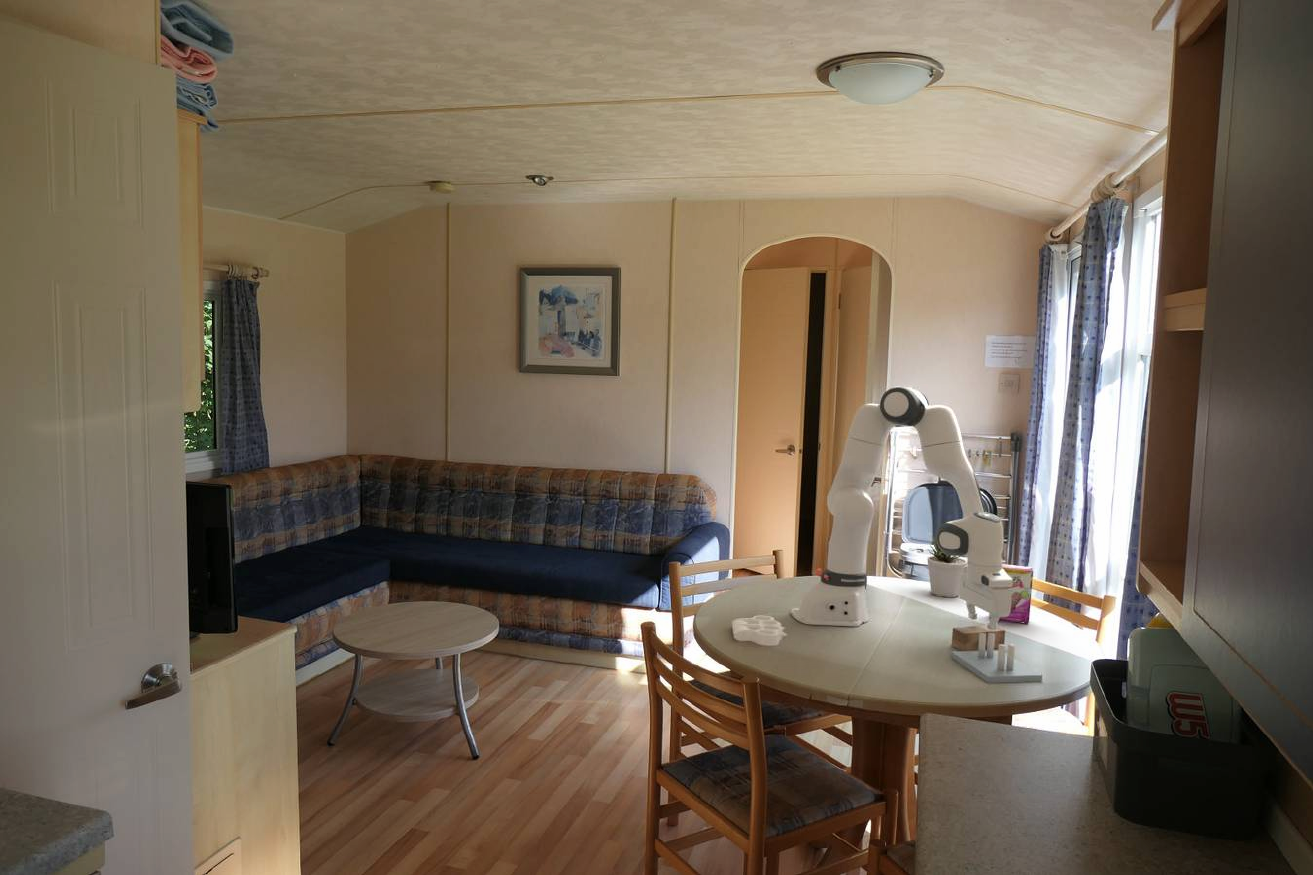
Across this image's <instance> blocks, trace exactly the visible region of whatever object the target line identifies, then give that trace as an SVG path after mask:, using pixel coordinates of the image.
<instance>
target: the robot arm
mask: <svg viewBox="0 0 1313 875" xmlns="http://www.w3.org/2000/svg"><path fill="white" fill-rule="evenodd" d="M901 427H902V428H904V427H906V428H907V427H913V428H914V429H915V430H916V432H917V434H918V436H919V441H920V448H921V454H922V460H923V462H924V465H925V467H926V469H927V471H929V472H930V474H933V476H936V477H937V478H940V479H943V480H944V481H946V482H948V483H949V484H950V485H951V486H953V488H954V489H955V491H956V493H957V495H958V496H957V497H958V500H959V503H960V507H961V511H962V514H963V518H961V519H955V520H951V521H946V522H944V523H942V524H941V525H939V526H938V528H937V530H936V532H935V534H936V535H935V541H936V543H937V545H938V547H939V549H940V550H941V551H942V552H943V553H944V554H946V555H950V557H953V556H956V557H958V556H960V557H961V556H965V557H966V559H967V560H966V561H967V566H966V567H965V568H964V569H963V574H961V576H960V581H959V589H958V595H959V596H958V597H959V599H961V600H963V601H964V602H965V604H966V608H967V612H968V618H969V620H972V621H973V620H977V619H978V612H976V607H977V608H978V609H980V610H983V611H984V612H986V613H988V614H989V613H990V617H991V619H990V617H989V621H987V624H986V625H988V626H987V628H988V629H990V630H996V627H998V626H997V625H998V622H999V621H1000V620H999V619H1000V617H1007V616H1008V615H1009V614H1010V611H1011V597H1012V595H1011V590H1010V588H1009V587H1012V586H1013V580H1012V579H1011V578H1010V577H1009V576H1008V575H1007V573H1006V572H1005V571H1004V569H1002V564H1003V559H1002V553H1003V550H1004V527H1003V522H1002V520H1001V518H1000V517H999V516H998V515H995V514H993V513H990V512H987V508H986V507H985V506H986V505H985V503H984V499H983V495H982V492H981V488H980V486H979V482H978V478H977V475H976V472H975V470H974V468H973V467H972V465H971V464H970V462H969V460H968V458H967V455H966V452H965V449H964V445H963V444H964V443H963V439H962V435H961V430H960V426H959V424H958V420H957V417H956V415H955V412H954V411H953V409H951V408H950V407H948V406H945V405H938V404H937V405H930V402H929V400H928V398H927V396H926V395H925V394H923V392H921V391H919V390H918V389H915V388H913V387H909V386H904V385H903V386H901V385H897V386H894V387H890V388H888V389H887V390H886V391H885V392H884V393H883V394H882V396H881V398H880V402H879V404H876V403H864V404H863V405H861V406H860V407H859V408H858V409H857V412H856V413H855V415H854V418H853V419H852V422H851V425H850V428H849V431H848V435H847V439H846V442H845V445H844V450H843V452H842V453H843V454H842V458H841V459H840V460H841V461H840V464H839V466H838V469H837V472H836V474H835V477H834V479H833V482H832V485H831V487H830V490H829V492H828V494H827V497H826V505H827V510H828V511H829V512H830V513H829V514H831V515H832V516H833V520H832V528H831V534H830V539H829V540H828V552H827V568H825V569H824V570H822V569H821V568H816V570H815V574H816V575H817V576H818V577H820V581H818V582H817V583H816V584H815V585H813V586H811V587H810V588H809V589H807V590H806V591H804V592H803V593H802V594H801V597H800V600H799V604H798V605H799V606H798V607H794V608H792V609H791V612H790V613H791V614H790V615H791V616H792V617H793V618H794V619H795V620H796V621H798V622H800V623H802V624H805V625H811V626H812V625H813V626H814V625H816V626H838V627H842V626H843V627H860V626H861V624H864V623H866V622H868V621H869V620H870V618H869V614H868V610H867V601H866V600H867V598H866V591H867V584H868V572H867V570H866V569H867V553H868V552H867V551H868V542H869V537H870V533H871V527H872V523H873V518H874V517H875V507H874V506H875V505H874V502H873V500H872V498H871V497H870V496H869V492H870V489H871V487H872V486H873V485H872V484H873V482H874V480H875V479H876V477H877V475H878V474H879V471H880V467H881V464H882V459H883V456H884V453H885V449H886V445H887V441H888V437H889V434H890V432H891V431H892V429H894V428H901ZM863 622H864V623H863Z"/></svg>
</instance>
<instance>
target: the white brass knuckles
mask: <svg viewBox="0 0 1313 875" xmlns="http://www.w3.org/2000/svg"><path fill="white" fill-rule="evenodd" d="M731 627H732V633H733V639H734V640H736V641H738V642H746V641H747V642H753V643H756V644H758V645H761V646H764V647H765V646H766V647H775V646H778V645H779V644H780V641H781V640H782V639H783V637H784V638H785V637H786V636H788V634H787V633H786V632H784V631H783V630H786V627H784V626H782V623H781V622H779V621H777V620H776V619H775V618H774V617H773V616H769V615H760V614H759V615H754V616H753V617H747V618H745V617H741V618H735V619H734V620H732V621H731Z"/></svg>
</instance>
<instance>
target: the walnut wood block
mask: <svg viewBox="0 0 1313 875" xmlns="http://www.w3.org/2000/svg"><path fill="white" fill-rule="evenodd" d="M987 626H988V625H987V624H986V625H973V626H963V627H962V626H961V627H960V626H959V627H952V637H951V646H952V645H953V646H952V647H954V648H957V649H958V650H959V651H960V650H961V651H978V647H979V633H985V634H986V644H985V650H987V643H988V633H994V634H995V640H994V648H995V649H999V644H1003V645H1005V639H1006V638H1005V637H1006V629H1004V628H1001V627H998V626H997V627H996V630H990V629H988V628H987Z"/></svg>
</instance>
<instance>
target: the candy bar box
mask: <svg viewBox="0 0 1313 875" xmlns="http://www.w3.org/2000/svg"><path fill="white" fill-rule="evenodd" d="M1002 569H1004V571H1005V572H1006V573H1007V575H1008V576H1009V577H1010V578H1011V579H1012V580H1013V586H1012V587H1009V588H1010V590H1011V595H1012V597H1011V611H1010V614H1009V615H1008V616H1007V617H1000V619H999V621H1000V620H1002V622H1008V621H1009V622H1010V623H1016V622H1024V623H1023V624H1025V623H1029V624H1030V614H1031V603H1032V590H1033V579H1034V569H1033V567H1032V566H1031V567H1030V566H1022V565H1013V564H1005V563H1004V564H1003V563H1002ZM988 615H989V620H990V619H991V617H990V613H988Z"/></svg>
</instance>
